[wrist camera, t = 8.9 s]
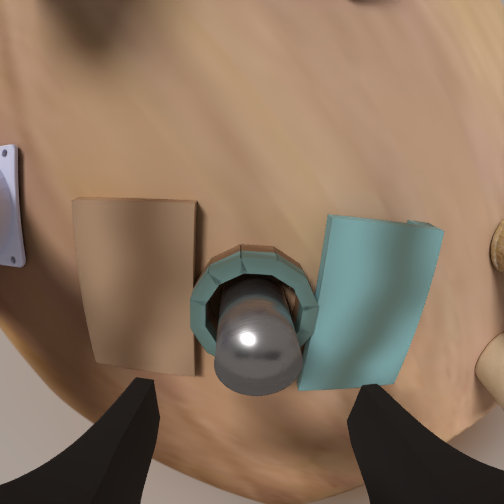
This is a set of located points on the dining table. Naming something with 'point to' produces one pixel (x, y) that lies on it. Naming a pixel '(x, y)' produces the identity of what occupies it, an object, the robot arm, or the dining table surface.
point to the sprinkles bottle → (498, 248)
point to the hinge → (251, 262)
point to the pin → (256, 337)
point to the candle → (493, 368)
